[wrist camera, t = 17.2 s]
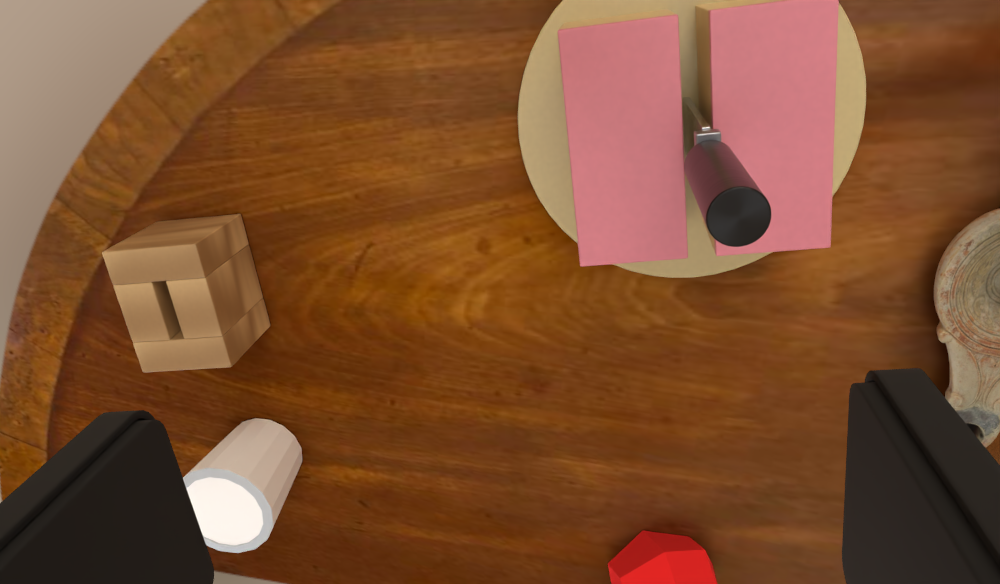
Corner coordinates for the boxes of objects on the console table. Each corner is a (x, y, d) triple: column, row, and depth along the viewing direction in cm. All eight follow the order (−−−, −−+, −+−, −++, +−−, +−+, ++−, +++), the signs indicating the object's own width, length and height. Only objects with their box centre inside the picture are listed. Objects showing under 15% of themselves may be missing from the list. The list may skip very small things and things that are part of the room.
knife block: (156, 221, 50) (100, 252, 44) (241, 213, 49) (195, 243, 43) (190, 331, 53) (142, 372, 47) (271, 325, 52) (231, 367, 46)
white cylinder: (304, 499, 57) (266, 565, 51) (217, 475, 57) (169, 538, 51) (316, 425, 54) (278, 485, 48) (225, 400, 55) (174, 456, 48)
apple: (741, 572, 48) (624, 612, 47) (737, 635, 52) (628, 674, 50) (690, 494, 54) (584, 528, 53) (689, 556, 57) (591, 589, 56)
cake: (498, -39, 41) (480, -41, 35) (872, -93, 38) (922, -106, 32) (537, 285, 48) (528, 330, 42) (855, 262, 45) (894, 306, 39)
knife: (665, 99, 42) (704, 178, 26) (706, 94, 42) (772, 171, 25) (668, 152, 43) (707, 260, 27) (708, 148, 43) (771, 255, 27)
